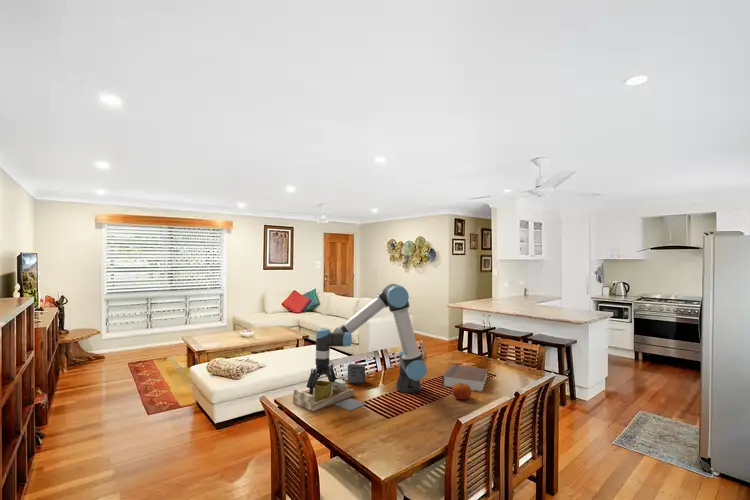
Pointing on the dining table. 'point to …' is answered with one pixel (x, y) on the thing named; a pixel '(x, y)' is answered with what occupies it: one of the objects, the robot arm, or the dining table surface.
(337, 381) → the offcut sage
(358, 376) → the small box
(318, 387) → the flower pot
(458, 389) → the fruit
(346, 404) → the felt mat
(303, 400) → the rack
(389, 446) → the dining table surface
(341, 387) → the offcut oak
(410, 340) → the robot arm
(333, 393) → the offcut walnut
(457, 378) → the book
